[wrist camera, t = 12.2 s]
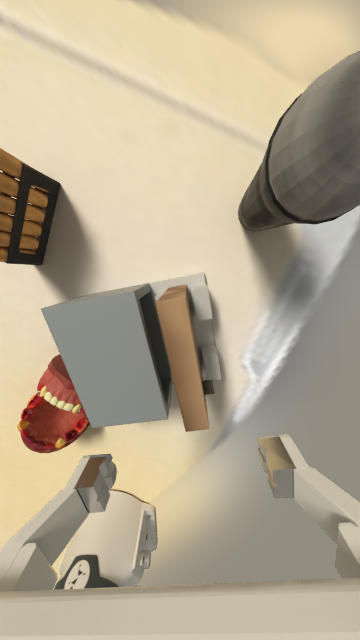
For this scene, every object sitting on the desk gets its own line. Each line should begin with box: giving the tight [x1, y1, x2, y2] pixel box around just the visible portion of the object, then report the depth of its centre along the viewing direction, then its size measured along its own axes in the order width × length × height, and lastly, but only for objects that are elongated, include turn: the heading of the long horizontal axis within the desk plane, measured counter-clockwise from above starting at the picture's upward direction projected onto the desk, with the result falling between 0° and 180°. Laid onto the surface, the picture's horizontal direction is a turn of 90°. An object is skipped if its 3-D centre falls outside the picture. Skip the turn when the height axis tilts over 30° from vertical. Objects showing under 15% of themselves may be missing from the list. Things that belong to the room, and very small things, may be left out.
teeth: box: [17, 355, 90, 453], centre depth 28 cm, size 10×8×15 cm
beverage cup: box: [238, 51, 360, 231], centre depth 12 cm, size 7×7×20 cm
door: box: [156, 285, 214, 432], centre depth 21 cm, size 4×14×10 cm, turn 11°
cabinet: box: [41, 273, 221, 428], centre depth 24 cm, size 16×18×8 cm
